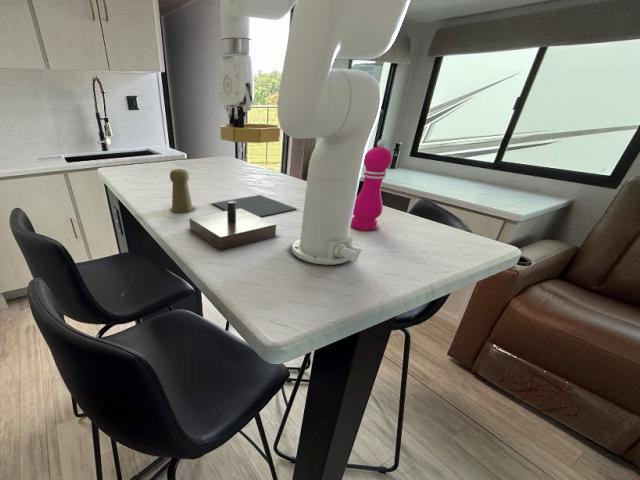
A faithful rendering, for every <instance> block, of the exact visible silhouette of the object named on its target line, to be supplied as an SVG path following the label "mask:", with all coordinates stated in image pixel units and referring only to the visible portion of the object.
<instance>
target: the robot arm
mask: <svg viewBox="0 0 640 480" xmlns="http://www.w3.org/2000/svg"><path fill="white" fill-rule="evenodd" d="M219 2H220V4H219V5H220V46H221V47H220V49H221V50H220V55H221V57H220V63H219V74H218V76H219V77H218V101H219V104H221V105H223V109H224V110H226V111H227V117H228V119H229V121H228V124H233V127H235V128H244V123H245V119H246V115H247V112H250V111H251V110H252V104H253V102H254V94H255V78H254V77H255V76H254V62H253V61H254V60H253V39H254V37H253V35H254V18H257V19H264V20H271V21H278V20H281V19H282V18H284V17H285V16H287V15H288V14H289V13H290V11H291V10H292V9H293V12H292V17H291V22H290V27H289V32H288V39H287V44H286V50H285V55H284V59H283V60H284V61H283V66H282V72H281V77H280V84H279V90H278V95H277V106H276V111H277V120H278V125H280V127H281V129H282V133H284V134H285V135H286V136H288V137H290V138H294V139H319V140H318V142H317V143H316V145H315V147H314V149H313V151H312V153H311V156H310V160H309V162H308V168H307V177H306V184H305V185H306V187H305V195H304V203H303V211H302V213H303V214H302V220H301V221H302V223H301V231H300V237H299V238H298V239H296V240H295V241H294V242H292V245H291V252H292V253H293V255H294V256H296V257H297V258H298V259H300V260H302V261H304V262H307V263H311V264H317V265H325V266H328V265H331V266H332V265H333V266H334V265H340V264H344V263H346V262H349V261H351V262H352V263H354V262H356V261H357V260H358V258H359V255H360V254H361V253H362V248H360V247H358V246H356V245H353V238H354V237H353V236H352V235H350V230H351V227H352V226H351V221H352V218H353V217H354V215H353V211H354V206H355V201H356V198H357V196H358V189H359V185H360V180H361V177H362V176H361V175H362V170H363V166H364V158H365V155H366V153H367V149H368V146H369V142H370V139H371V136H372V133H373V131H374V128H375V126H376V124H377V120H378V118H379V114H380V112H381V107H382V102H383V100H382V99H383V93H382V88H381V86H380V83H379V81H378V80H377V78H376V77H375V76H373V74H371V73H369V72H367V71H364V70H361V69H355V68H354V69H353V68H340V67H339V68H337V67H333V65H334V62H335V59H344V60H359V61H360V60H364V61H365V60H374V59H376V58H380V57H381V56H383V55H384V54H385V53H387V52H388V51H389V49H390V48H391V47H392V45H393V44H394V43H395V40H396V38H397V36H398V33H399V31H400V29H401V26H402V23H403V21H404V18H405V15H406V13H407V10H408V7H409V5H410V3H411V0H220V1H219ZM293 7H294V8H293ZM332 67H333V68H332Z"/></svg>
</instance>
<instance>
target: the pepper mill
mask: <svg viewBox="0 0 640 480" xmlns="http://www.w3.org/2000/svg"><path fill="white" fill-rule="evenodd" d="M392 161H393V154H392V152H391V151H390V149H388V148H387V147H386V140H384V139H379V140H378V141H377V143H376V147H373V148H370V149H369V150H368V151H366V153H365V157H364V162H363V166H364V167H365V169H364V170H363V174H362V176H363V177H364V179H363V184H362V187H361V190H360V192H359V193H358V194H357V195H356V201H355V206H354V211H353V216H352V221H351V226H350V227H352V228H354V229H356V230H361V231H373V230H375V229H376V228H377V225H378V220H377V219H378V218H379V217H381V215H382V213H383V209H384V208H383V206H384V204H383V199H382V193H381V192H382V183H383V180H384V179H385V178H386V177H387V176H386V174H387V169H388V168H389V167H390V166H391V164H392Z"/></svg>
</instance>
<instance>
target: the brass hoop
mask: <svg viewBox="0 0 640 480" xmlns="http://www.w3.org/2000/svg"><path fill="white" fill-rule="evenodd" d="M282 139H283V130H282V129H281V127H280V124H271V123H246V122H244V128H235V127H233V124H229V123H226V124H221V125H220V140H222V141H227V142H231V143H249V144H262V143H263V144H264V143H276V142H281V140H282Z"/></svg>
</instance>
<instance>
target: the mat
mask: <svg viewBox="0 0 640 480" xmlns="http://www.w3.org/2000/svg"><path fill="white" fill-rule="evenodd" d="M228 201H235V202H236V209H240V208H241V209H243V210H246V211H248V212H250V213H252V214H254V215H257V216H259V217H261V218H264V217H269V216H273V215H278V214H283V213H287V212H292V211H296V210H297V208H295V207H294V206H293V207H292V206H290V205H287V204H284V203H283V202H279V201H276V200H274V199H271V198H269V197H266V196H264V195H261V194H259V195H253V196H247V197H241V198H235V199H230V200H224V201H218V202H213V203H212V205H213V206H215V207H217V208H219V209H220V210H223V211H227V202H228Z"/></svg>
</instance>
